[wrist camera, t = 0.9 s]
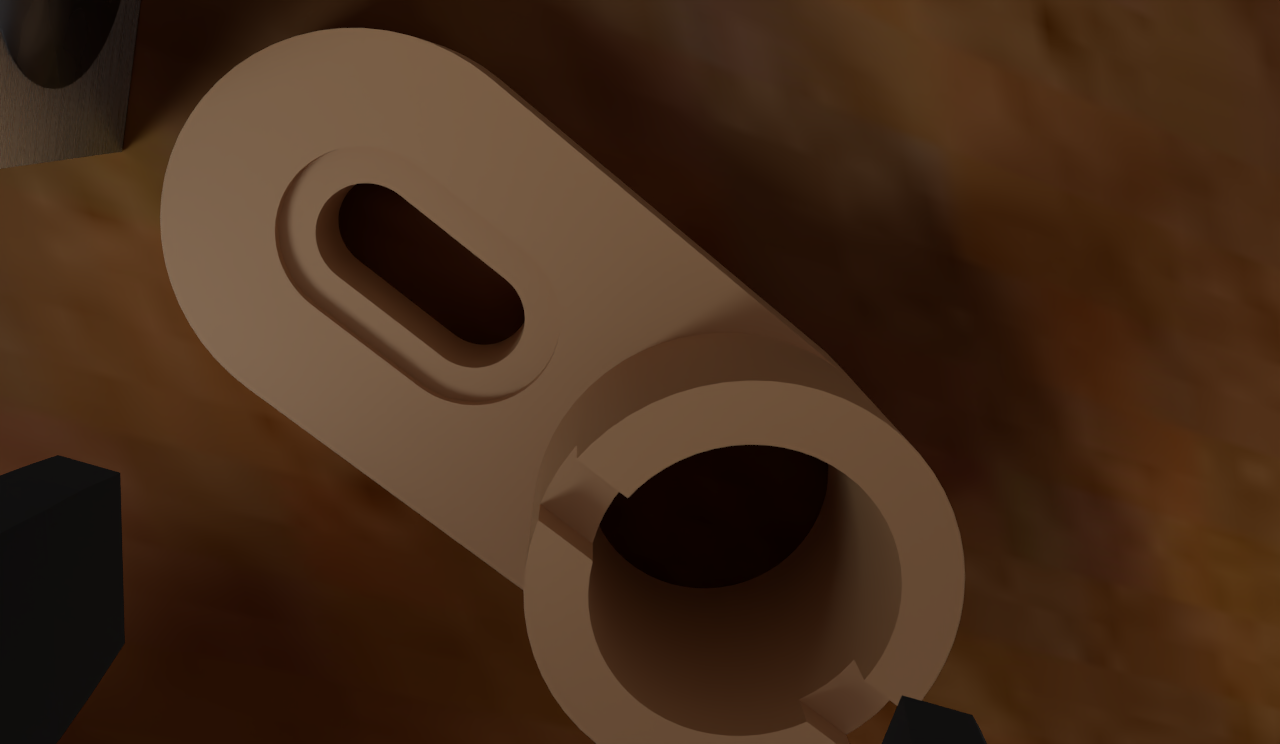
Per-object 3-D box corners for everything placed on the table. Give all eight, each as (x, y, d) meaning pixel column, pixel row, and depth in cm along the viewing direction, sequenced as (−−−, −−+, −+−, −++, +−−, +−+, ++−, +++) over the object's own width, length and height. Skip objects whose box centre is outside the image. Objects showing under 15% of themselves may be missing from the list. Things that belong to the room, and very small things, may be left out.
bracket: (942, 449, 28) (1054, 562, 22) (723, 687, 30) (764, 863, 23) (349, -47, 25) (262, -97, 18) (131, 246, 26) (-26, 302, 19)
